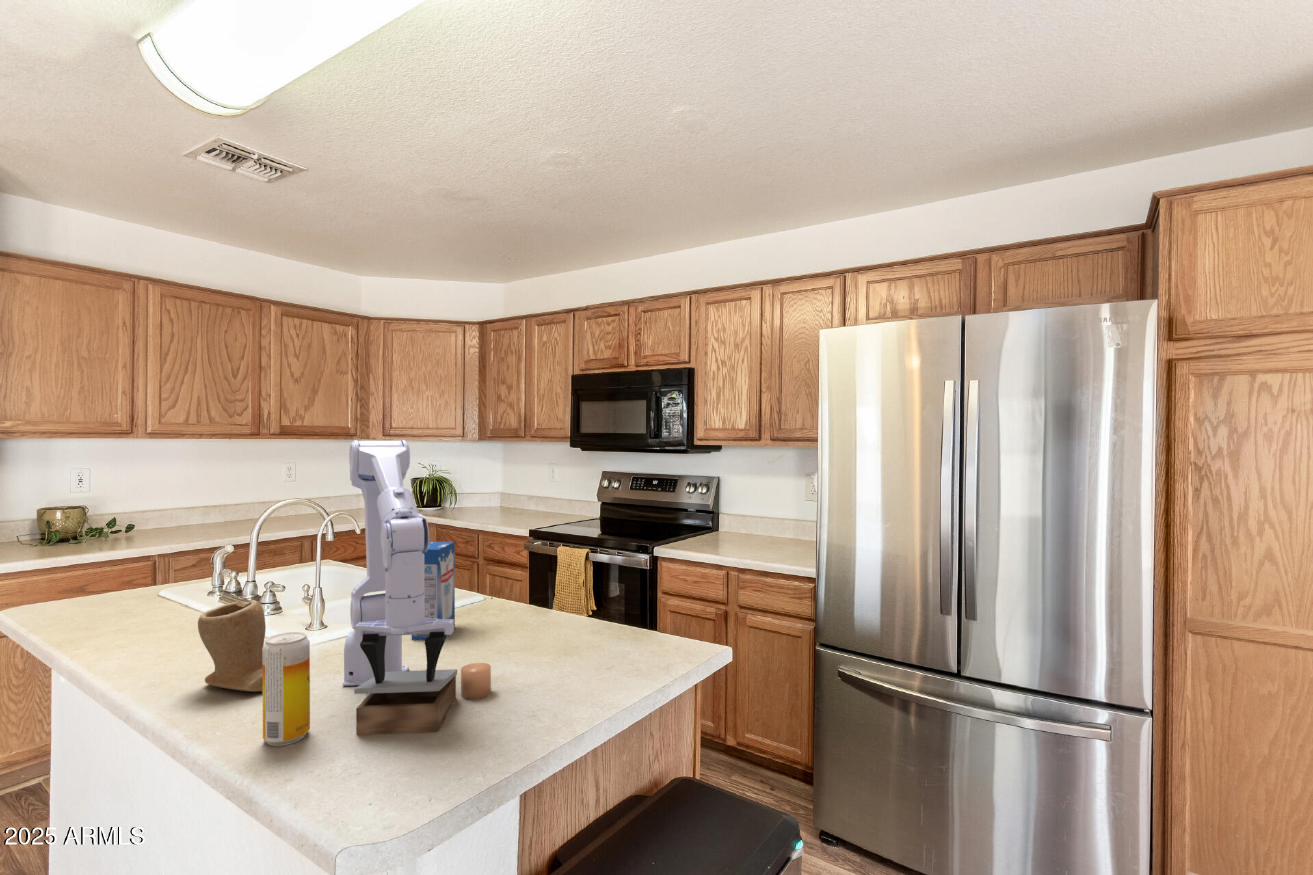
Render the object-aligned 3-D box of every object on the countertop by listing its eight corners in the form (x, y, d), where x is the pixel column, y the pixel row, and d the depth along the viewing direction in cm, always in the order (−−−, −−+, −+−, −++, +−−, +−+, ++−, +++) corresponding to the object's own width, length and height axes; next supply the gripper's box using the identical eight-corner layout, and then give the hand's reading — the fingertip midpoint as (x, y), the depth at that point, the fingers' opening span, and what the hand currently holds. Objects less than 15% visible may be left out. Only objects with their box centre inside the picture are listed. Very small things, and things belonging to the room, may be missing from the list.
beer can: (317, 727, 98) (317, 630, 98) (296, 747, 92) (296, 643, 92) (277, 728, 98) (277, 631, 98) (253, 748, 92) (253, 644, 92)
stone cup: (183, 691, 112) (182, 606, 112) (249, 668, 123) (249, 591, 123) (239, 706, 106) (238, 616, 106) (304, 681, 117) (303, 599, 117)
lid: (354, 693, 95) (354, 688, 96) (382, 676, 108) (382, 671, 108) (439, 690, 97) (439, 685, 97) (457, 674, 109) (457, 669, 109)
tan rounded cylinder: (458, 700, 108) (458, 673, 108) (464, 688, 113) (464, 663, 113) (487, 698, 109) (487, 672, 109) (493, 687, 114) (493, 662, 114)
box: (356, 734, 96) (356, 708, 96) (383, 701, 108) (383, 677, 108) (438, 731, 97) (438, 705, 97) (455, 698, 109) (455, 675, 109)
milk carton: (439, 640, 139) (439, 549, 139) (411, 640, 140) (411, 549, 139) (454, 626, 149) (454, 541, 149) (428, 626, 150) (428, 541, 149)
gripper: (347, 602, 95) (347, 692, 95) (446, 599, 97) (446, 688, 97) (364, 590, 102) (364, 675, 102) (456, 588, 104) (457, 671, 104)
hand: (405, 680), depth 100 cm, fingers open, 7 cm apart
